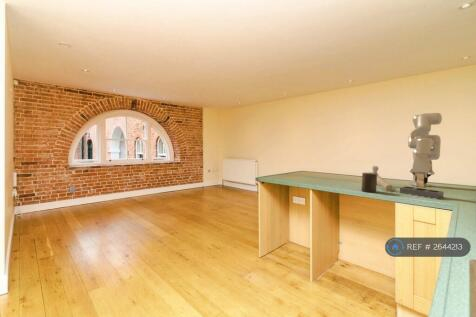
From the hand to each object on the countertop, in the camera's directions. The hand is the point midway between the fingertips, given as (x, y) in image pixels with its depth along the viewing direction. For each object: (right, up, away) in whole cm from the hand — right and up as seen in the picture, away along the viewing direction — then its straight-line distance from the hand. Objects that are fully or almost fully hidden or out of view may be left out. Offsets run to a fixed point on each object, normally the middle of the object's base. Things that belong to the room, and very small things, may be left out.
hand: (421, 182), depth 159 cm
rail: (0, -9, +1) cm, 9 cm away
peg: (0, -3, 0) cm, 3 cm away
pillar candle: (-28, -8, +14) cm, 33 cm away
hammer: (-11, -7, +28) cm, 31 cm away
